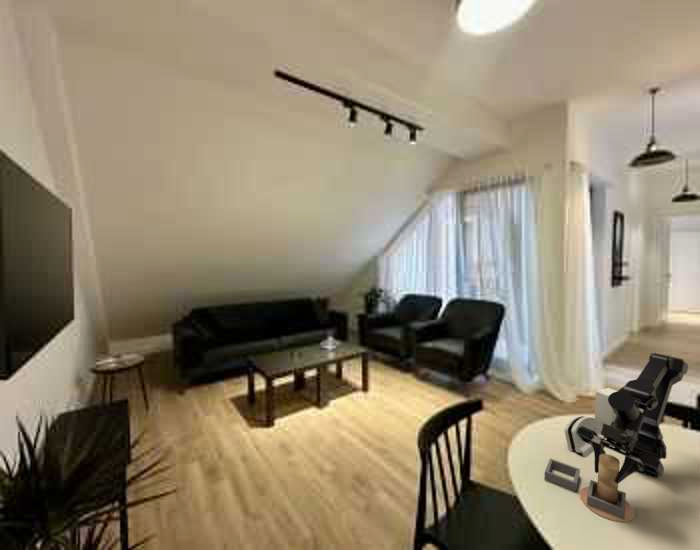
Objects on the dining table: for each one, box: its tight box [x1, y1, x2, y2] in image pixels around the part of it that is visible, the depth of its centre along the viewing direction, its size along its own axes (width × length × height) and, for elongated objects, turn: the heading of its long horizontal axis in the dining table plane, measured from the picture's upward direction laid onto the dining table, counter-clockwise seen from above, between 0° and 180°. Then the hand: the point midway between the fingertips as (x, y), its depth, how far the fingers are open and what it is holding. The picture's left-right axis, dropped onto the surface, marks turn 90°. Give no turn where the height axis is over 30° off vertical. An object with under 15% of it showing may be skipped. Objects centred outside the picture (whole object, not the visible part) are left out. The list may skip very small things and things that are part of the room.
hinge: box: [563, 415, 606, 459], centre depth 119 cm, size 17×5×10 cm, turn 122°
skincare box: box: [593, 387, 618, 433], centre depth 125 cm, size 8×7×16 cm
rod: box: [597, 453, 621, 505], centre depth 92 cm, size 4×4×12 cm
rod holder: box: [544, 458, 581, 493], centre depth 103 cm, size 8×8×2 cm
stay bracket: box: [579, 479, 635, 523], centre depth 92 cm, size 12×12×3 cm
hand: (605, 477), depth 91 cm, fingers closed on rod, 4 cm apart
